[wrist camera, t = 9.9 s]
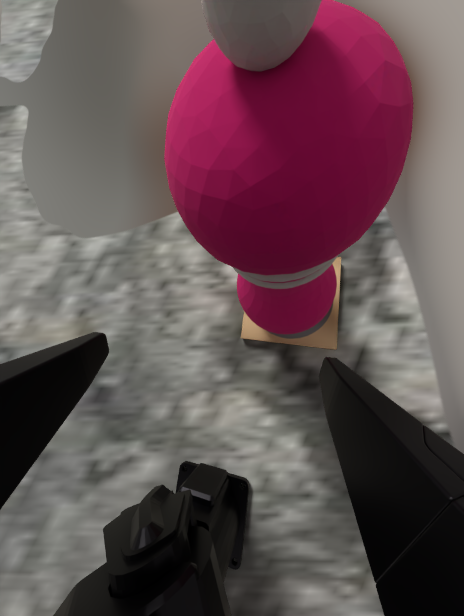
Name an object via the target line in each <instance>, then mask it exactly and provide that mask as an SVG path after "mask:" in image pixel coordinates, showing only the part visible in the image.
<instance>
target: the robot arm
mask: <svg viewBox="0 0 464 616" xmlns="http://www.w3.org/2000/svg"><path fill="white" fill-rule="evenodd" d="M108 353H109V347H108V343H107V338H106V335H105V334H104V333H98V332H93V333H90V334H87V335H84V336H81V337H78V338H75V339H73V340H70V341H67V342H64V343H61V344H58V345H55V346H52V347H49V348H46V349H43V350H40V351H38V352H35V353H32V354H29V355H26V356H23V357H20V358H17V359H14V360H11V361H8V362H6V363H3V364H0V509H1V508H2V507H3V505H4V504H5V502H6V501H7V500H8V498H9V497H10V495H11V494H12V493H13V491H14V490H15V489H16V487H17V486H18V484H19V483H20V482H21V480H22V479H23V478H24V476H25V475H26V473H27V472H28V471H29V469H30V468H31V467H32V465H33V464H34V462H35V461H36V460H37V458H38V457H39V455H40V454H41V453H42V451H43V450H44V449H45V447H46V446H47V444H48V443H49V442H50V440H51V439H52V438H53V436H54V435H55V433H56V432H57V431H58V429H59V428H60V427H61V425H62V424H63V422H64V421H65V420H66V418H67V417H68V415H69V414H70V413H71V411H72V410H73V409H74V407H75V406H76V404H77V403H78V402H79V400H80V399H81V398H82V396H83V395H84V393H85V392H86V391H87V389H88V388H89V386H90V385H91V383H92V381H93V380H94V378H95V376H96V375H97V373H98V371H99V369H100V368H101V366H102V364H103V363H104V361H105V359H106V357H107V356H108ZM319 378H320V385H321V390H322V396H323V402H324V408H325V413H326V417H327V421H328V425H329V428H330V431H331V435H332V438H333V442H334V445H335V448H336V452H337V455H338V459H339V462H340V465H341V469H342V472H343V476H344V479H345V482H346V486H347V489H348V492H349V496H350V499H351V503H352V506H353V509H354V513H355V516H356V520H357V523H358V526H359V530H360V533H361V537H362V540H363V543H364V547H365V550H366V554H367V557H368V560H369V564H370V567H371V571H372V574H373V577H374V581H375V583H377V584H376V588H377V592H378V595H379V599H380V602H381V605H382V609H383V612H384V616H464V454H463V453H461V452H460V451H459V450H457V449H456V448H454V447H453V446H452V445H450V444H449V443H448V442H446V441H445V440H444V439H442V438H441V437H440V436H438V435H437V434H436V433H434V432H433V431H432V430H430V429H429V428H428V427H426V426H425V425H423V424H422V423H421V422H420V421H418V420H417V419H416V418H414V417H413V416H412V415H411V414H409V413H408V412H407V411H405V410H404V409H403V408H401V407H400V406H399V405H397V404H396V403H395V402H393V401H392V400H391V399H389V398H388V397H387V396H386V395H384V394H383V393H382V392H380V391H379V390H378V389H376V388H375V387H374V386H372V385H371V384H370V383H368V382H367V381H366V380H364V379H363V378H362V377H360V376H359V375H358V374H357V373H355V372H354V371H353V370H351V369H350V368H349V367H347V366H346V365H345V364H343V363H342V362H341V361H339V360H338V359H337V358H331V357H326V358H325V359H324V361H323V364H322V367H321V371H320V376H319ZM184 466H186V467H187V470H185V469H184ZM241 483H244V484H245V486H246V487H242V486H241ZM248 493H249V482H248V480H247V479H246V478H244V477H241V476H237V475H234V474H230V473H228V472H227V471H226V470H224V469H220V468H217V467H213V466H210V465H206V464H203V463H200V464H195V463H192V462H188V461H185V462H183V463H182V464H181V465H180V468H179V475H178V481H177V488H176V493H175V494H174V493H173V491H170V490H169V489H168V488H166V487H165V486H164V485H160V486H156V487H155V488H154V489H152V490H151V491H150V492H149V493H148V494H147V495H146V496H145V497H144V499H143V500H142V501H141V503H139V504H136V505H134V506H132V507H129V508H127V509H125V510H123V511H122V512H121V515H120V516H118V517H117V518H116V519H114V520H113V521H112V522H110V523H109V524H107V525H106V526H105V527H104V528H103V532H104V541H105V550H106V559H107V562H106V563H105V564H104V565H102V566H101V567H99V568H98V569H96V570H95V571H94V572H92V573H91V574H89V575H88V576H87V577H85V578H84V579H82V580H81V581H80V582H79V583H77V584H76V586H75V587H74V588H73V589H72V591H71V592H70V593H69V595H68V596H67V597H66V599H65V600H64V602H63V603H62V604H61V606H60V607H59V608H58V610H57V611H56V613H55V614H54V615H53V616H231V612H230V608H229V604H228V600H227V596H226V592H225V588H224V584H223V582H224V579H225V575H226V572H227V569H228V567H230V568H232V569H238V568H239V567H240V564H241V560H242V550H243V541H244V531H245V522H246V512H247V502H248ZM233 558H235V559H237V561H234V560H233Z"/></svg>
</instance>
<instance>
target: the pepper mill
mask: <svg viewBox="0 0 464 616" xmlns="http://www.w3.org/2000/svg"><path fill="white" fill-rule="evenodd" d="M201 1H202V7H203V12H204V16H205V19H206V22H207V25H208V28H209V31H210V33H211V35H212V36H213V38H214V39H213V40H212V41H211V42H210V43H209V44H208V45H207V46H206V48H204V50H203V51H202V52H201V53H200V54H199V55H198V56H197V57H196V58H195V59H194V61H193V63H192V64H191V66H190V68H189V70H188V71H187V73H186V74H185V76H184V78H183V80H182V82H181V83H180V85H179V87H178V88H177V91H176V94H175V97H174V100H173V102H172V106H171V109H170V112H169V115H168V122H167V130H166V141H165V158H164V159H165V165H166V171H167V177H168V183H169V188H170V191H171V194H172V197H173V199H174V202H175V205H176V207H177V210H178V212H179V214H180V216H181V217H182V219H183V221H184V223H185V225H186V226H187V228H188V229H189V231H190V232H191V234H192V235H193V236H194V238H195V239H196V241H197V242H198V243H199V244H200V245H201V246H203V247H204V248H205V249H206V250H207V251H208V252H209V253H210V254H211V255H212V256H214V257H215V258H216V259H217V260H219V261H221V262H223V263H225V264H227V265H230V266H232V267H233V268H234V269H235V271H236V272H237V273H238V278H237V293H238V297H239V301H240V303H241V305H242V308H243V310H244V311H245V313H246V315H247V316H248V317H249V318H250V319H251V321H253V322H254V323H255V324H256V325H257V326H259V327H261V328H262V329H264V330H267V331H269V332H272V333H277V334H295V333H300V332H303V331H305V330H308V329H310V328H311V327H313V326H315V325H316V324H317V323H319V322H320V321H321V320H322V319H323V318H324V317H325V315H326V314H327V313H328V311H329V309H330V308H331V306H332V303H333V300H334V298H335V295H336V289H337V277H336V273H335V269H334V266H333V264H332V263H333V262H334V261H335V259H336V258H337V256H338V254H340V253H341V252H343V251H344V250H345V249H347V248H348V247H350V246H351V245H352V244H354V243H355V242H356V241H358V240H359V239H360V238H361V237H362V235H363V234H364V233H365V232H366V231H367V230H368V228H369V227H370V226H371V225H372V224H373V222H374V221H375V219H376V218H377V217H378V215H379V214H380V212H381V211H382V209H383V208H384V207H385V205H386V204H387V202H388V201H389V199H390V197H391V195H392V193H393V190H394V188H395V186H396V184H397V182H398V179H399V177H400V175H401V172H402V170H403V166H404V162H405V159H406V155H407V151H408V148H409V144H410V140H411V132H412V119H413V96H412V87H411V81H410V78H409V75H408V72H407V70H406V67H405V64H404V61H403V58H402V56H401V54H400V52H399V50H398V49H397V47H396V45H395V43H394V41H393V40H392V39H391V38H390V36H389V35H388V34H387V33H386V32H385V30H384V29H383V28H382V27H381V26H380V25H379V23H378V22H376V21H375V20H373V19H372V18H370V17H368V16H367V15H365V14H364V13H362V12H360V11H359V10H357V9H355V8H353V7H351V6H347V5H345V4H342V3H339V2H336V1H333V0H201Z"/></svg>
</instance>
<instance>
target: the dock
mask: <svg viewBox="0 0 464 616" xmlns="http://www.w3.org/2000/svg"><path fill="white" fill-rule="evenodd" d="M332 264H333V266H334V269H335V273H336V277H337V289H336V295H335V298H334V300H333V303H332V306H331V308H330V309H329V311H328V313H327V314H326V315H325V317H324V318H323V319H322V320H321V321H320V322H319V323H317V324H316V325H315V326H313V327H311V328H310V329H308V330H305V331H303V332H300V333H295V334H277V333H272V332H269V331H267V330H264V329H262V328H261V327H259V326H257V325H256V324H255V323H254V322H253V321H251V319H250V318H249V317H248V316H247V315H246V313H245V311H244V318H243V326H242V334H241V338H242V339H250V340H259V341H267V342H275V343H284V344H292V345H300V346H309V347H317V348H325V349H333V350H336V349H337V331H338V310H339V290H340V269H341V257H337V258H336V259H335V261H334V262H333V263H332Z"/></svg>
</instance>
